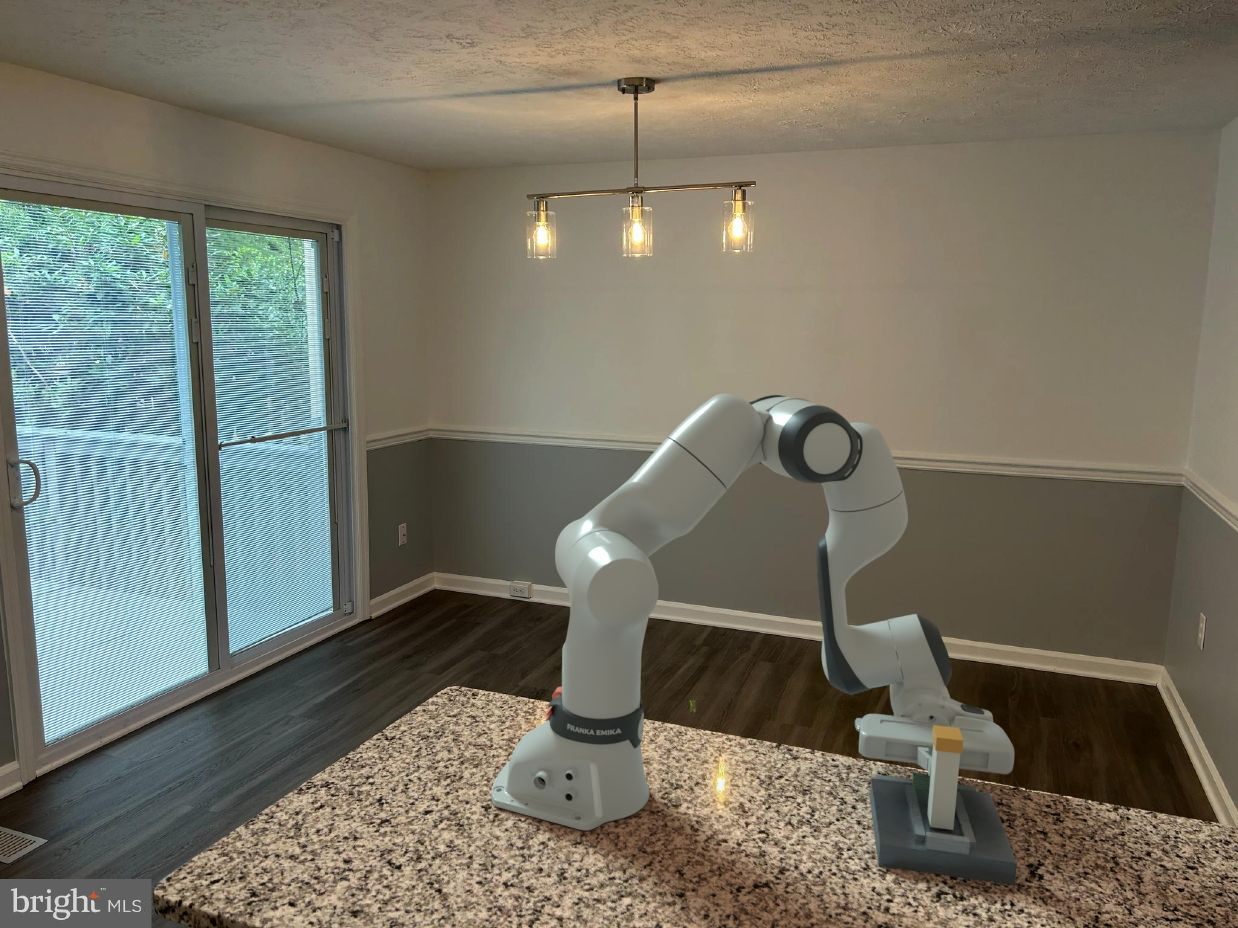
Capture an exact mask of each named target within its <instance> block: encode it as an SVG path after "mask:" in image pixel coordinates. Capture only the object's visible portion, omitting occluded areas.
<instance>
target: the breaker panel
mask: <svg viewBox="0 0 1238 928" xmlns="http://www.w3.org/2000/svg"><path fill="white" fill-rule="evenodd" d="M930 777H931V776H929V774H928V773H922V772H912V775H911V779H912V783H905V782H896V781H888V780H880V779H875V778H870V789H869V790H870V791H869V792H870V793H869V802H870V803H869V804H870V811H871V817H872V819H871V820H872V826H873V833H874V834H873V835H874V840H875V848H876V857H877V864H878V865H877V866H878V867H885V868H891V869H898V870H905V871H911V872H912V871H913V872H920V873H926V874H932V875H933V874H934V875H940V876H947V877H954V878H961V879H969V880H976V881H982V882H988V883H989V882H990V883H997V884H1005V885H1010V886H1011V885H1012V886H1015V885H1016V874H1017V866H1018V861H1017V860H1016V857H1015V855H1014V854H1015V853H1014V852H1013V850H1012V849H1013V848H1012V846H1011V844H1010V842H1009V841H1010V840H1009V839H1008V836H1007V833H1006V831H1005V828H1004V825H1003V822H1002V820H1001V818H1000V815H999V813H998V809H997V807H996V805H995V802H994V799H993V797H992V794H991V792H987V791H986V792H985V791H984V792H983V791H978V790H977V791H970V790H962V789H957V795H956V805H955V816H954V827H953V830H950V829H943V828H935V827H930V823H929V819H928V815H927V811H928V800H929V788H930Z"/></svg>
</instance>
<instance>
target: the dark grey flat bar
mask: <svg viewBox="0 0 1238 928" xmlns="http://www.w3.org/2000/svg"><path fill="white" fill-rule="evenodd" d="M874 779H880V780H888V781H896V782H905V783H912V778H907V777H900V776H898V777H897V776H891V775H882V774H874ZM957 789H962V790H970V791H978V790H977V787H976V786H974V785H973V786H972V785H965V784H957Z"/></svg>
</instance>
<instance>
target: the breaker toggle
mask: <svg viewBox="0 0 1238 928" xmlns="http://www.w3.org/2000/svg"><path fill="white" fill-rule="evenodd" d="M932 740H933V753H932V765H931V777H930V788H929V800H928V811H927V815H928V819H929V823H930V827H935V828H943V829H950V830H953V827H954V816H955V805H956V795H957V784H958V781H959V773H960V772H959V771H960V769H959V762H960V753H961V754H962V752H963V741H964V740H963V738H962V735H961V732H960V729H959V728H954V727H945V726H936V725H933V731H932ZM958 785H959V784H958Z"/></svg>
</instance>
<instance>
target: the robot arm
mask: <svg viewBox="0 0 1238 928" xmlns="http://www.w3.org/2000/svg"><path fill="white" fill-rule="evenodd" d="M757 464H761V465H763V466H765V467H767V468H768V469H770V470H771V471H772V472H774V473H775V474H778V475H781V476H783V477H786V478H789V479H794V480H796V481H797V482H801V483H804V484H821V486H822V488H823V493H824V496H825V501H826V505H827V508H828V513H829V514H828V516H829V519H828V526H827V529H826V532H825V534H823V535H822V536H821V537H820V538H819V539H818V540H817V544H816V554H815V555H816V570H817V571H816V572H817V573H816V574H817V576H816V577H817V587H818V591H817V592H818V598H819V611H820V619H821V620H820V621H821V625H822V643H821V664H822V668H823V673H824V675H825V677H826V679H827V680H828V682H829V684H830V685H831V686H832V687H833V688H835V689H837V690H839V691H840V692H842V693H845V694H848V695H850V696H853V695H855V694H859V693H863V692H866V691H870V690H871V689H874V688H880V687H884V686H889V699H890V706H891V709H892V712H893V715H890V714H889V715H888V714H880V713H868V714H865V715H863V717H856V719H855V720H854V727H855V730H856V731H857V732H859V740H858V752H859V754H861V755H862V756H863V757H865V758H867V759H874V760H884V761H892V762H899V763H908V764H915V765H918V766H920V768H922V769H924V770H926V771H927V774H929V776H931V765H932V753H933V740H932V731H933V725H936V726H945V727H954V728H959V729H960V732H961V735H962V738H963V740H964V741H963V752H962V754H961V753H960V762H959V770H966V771H975V772H981V773H982V772H984V773H989V774H990V773H992V774H999V775H1009V774H1010V773H1011V772H1012V771H1013V769H1014V764H1015V748H1014V745H1013V743H1012V742H1011V740H1010V738H1009V736H1008V735H1007V733H1006V732H1005V730H1004V729H1003V728H1002V727H1001V726H1000V725H998V724H996V723H995V722H994V718H993V717H994V716H993V713H992V712H991V711H989V710H987V709H984V708H980V707H976V706H971V705H969V704H965V703H963V702H960V701H957V700H955V699H953V698H951V696H950V693H949V690H948V688H947V686H948V684H949V682H950V679H951V678H952V674H953V669H952V664H951V660H950V659H951V658H950V656H949V652H948V649H947V646H946V644H945V642H944V641H943V638H942V635H941V632H940V630H939V629H938V626H937V625H936V624H935V623H934V622H932V621H931V620H930V619H929V618H927V617H926V616H923V615H922V614H920V613H914V614H913V613H912V614H907V615H903V616H898V617H893V618H892V617H891V618H888V619H885V620H880V621H877V622H872V623H866V624H862V625H856V626H855V625H854V626H852V625H849V623H848V614H847V613H848V612H847V603H846V601H847V600H846V586H847V584H848V582H849V581H850V579H851V578H852V577H853V576H854V575H855V574H856V573H857V572H858V571H860V570H861V569H862V568H863V567H866V566H867V565H868V564H869V563H872V562H873V561H875V560H876V559H877V558H880V557H881V556H883V555H885V554H886V553H887V552H888V551H890V550H891V549H892V548H893V547H894V546H895V545H896V544H897V542H898V541H899V540H900V539H901V538H902V536H903V535H904V533H905V530H906V529H907V526H908V521H909V513H908V505H907V500H906V494H905V490H904V486H903V483H902V479H901V476H900V473H899V470H898V467H897V464H896V462H895V459H894V457H893V454H892V452H891V449H890V447H889V445H888V443H887V441H886V440H885V437H884V435H883V433H882V432H881V431H880V430H879V429H878V428H877V427H875V425H872V424H869V423H866V422H860V421H859V422H855V421H854V422H849V421H848V419H846V418H845V417H844V416H843V415H842V414H841V413H839V412H838V411H836V410H834V409H833V408H831V407H828V406H825V405H820V404H817V403H814V402H812V401H810V400H809V399H805V398H802V397H795V396H794V397H793V396H785V395H779V394H772V395H771V394H770V395H767V396H766V395H765V396H762V397H760V398H757V399H755V400H753V401H747V400H746V399H744V398H743V397H740V396H738V395H735V394H731V393H719V394H716V395H714V396H712V397H710V399H708V400H707V401H705V402H704V403H702V404H701V405H700V406H698V407H697V408H696V409H695V410H694V411H692V412H691V414H689V415H688V416H687V417H686V418H685V419H684V420H682V422H681V423H680V424H678V425H677V426H676V427H675V429H673V430H672V432H671V433H670V434H669V435H668V436H667V438H665V439H664V440H663V442H662V443H661V444H660V445H659V446H658V447H657V448H656V449H655V450H654V451H653V453H651V455H650V456H649V457H648V458H647V459H646V461H644V462H643V464H642V465H641V466H640V467H639V468H638V469H637V470H636V471H635V473H633V475H632V476H631V477H629V478H628V480H626V481H625V482H624V483H623V484H622V485H620V486H619V487H618V488H617V489H616V490H615V491H614V492H612V493H611V494H610V495H608V496H607V497H606V498H604V499H603V500H602V501H601V502H599V503H598V504H597V505H596V506H594V507H593V508H592V509H591V510H590V511H588V512H587V513H586V514H585V515H583V516H582V517H581V518H579V519H576V520H574V521H572V522H570V523H569V524H568V525H566V526H565V527H564V528H563V529H562V530H561V532H560V533H559V535H558V537H557V540H556V544H555V549H554V550H555V551H554V557H555V558H554V559H555V560H554V561H555V567H556V571H557V573H558V575H559V577H560V579H561V580H562V582H563V583H564V585H565V586H566V589H567V592H568V596H569V601H570V603H569V604H570V607H569V608H570V610H569V611H570V613H569V621H568V627H567V632H566V637H565V642H564V644H563V646H562V648H561V649H562V650H561V651H562V652H561V653H562V655H561V658H562V659H561V661H562V662H561V663H562V664H561V686H557V687H556V689H555V690H554V692H553V694H552V695H551V698H552V700H550V701H549V703H548V708H547V710H546V711H545V712H546V713H545V716H546V717H545V718H546V719H545V720H546V721H544V722H543V723H541V724H540V725H538V726H536V727H535V728H533V729H531V730H530V731H528V732H527V733H525V734H524V736H523V737H522V738H520V740H519V741H518V743H517V744H516V745H515V748H514V749H513V752H512V755H511V757H510V759H509V762H507V764H505V765H504V766H503V767H502V768H501V770H500V771H499V773H498V774H497V775H496V777H495V780H494V782H493V784H492V787H491V802H492V804H493V806H494V807H496V808H500V809H503V810H507V811H510V812H514V813H518V814H521V815H526V816H529V817H533V818H536V819H540V820H543V821H547V822H551V823H554V824H559V825H562V826H564V827H569V828H573V829H576V830H580V831H591V830H593V829H595V828H597V827H599V826H602V825H603V824H604V823H608V822H612V821H617V820H621V819H624V818H627V817H630V816H632V815H634V814H636V813H638V812H639V811H640V810H641V809H643V808H644V807H645V806H646V804H647V803H648V801H649V798H650V788H649V785H648V782H647V779H646V774H645V769H644V762H643V754H642V740H643V738H644V720H645V719H644V717H645V716H644V715H645V714H644V713H645V712H644V706H643V705H644V702H643V700H642V698H641V684H642V683H641V676H642V675H641V674H642V673H641V671H642V651H643V646H644V639H645V636H646V635H645V634H646V630H647V628H648V627H647V626H648V621H649V617H650V615H651V614H652V613H653V611H654V609H655V607H656V605H657V602H658V599H659V593H660V591H659V590H660V589H659V588H660V587H659V583H658V579H657V575H656V572H655V569H654V567H653V564H652V562H651V560H650V556H652V555H653V554H654V553H656V552H657V551H658V550H659V549H661V548H663V547H664V546H666V545H667V544H668V543H670V542H672V541H673V540H675V539H677V538H680V537H683V536H686V535H687V534H689V533H690V532H692V530H694V528H695V527H696V526H697V525H698V523H700V521H701V520H702V519H703V518H704V517H705V516H706V515H707V514H708V512H710V510H711V509H713V507H714V506H715V504H716V503H717V502H718V501H719V500H720V499H721V498H722V497H723V496H724V494H725V493H727V491H728V490H729V488H731V486H732V485H734V483H735V482H736V480H737V479H738V477H739V476H740V475H741V474H743V473H744V472H745V471H747V470H748V469H749V468H750V467H752V466H754V465H757Z"/></svg>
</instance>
